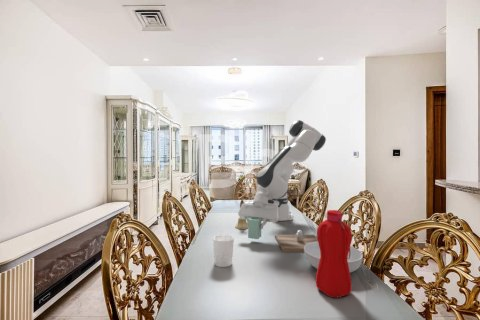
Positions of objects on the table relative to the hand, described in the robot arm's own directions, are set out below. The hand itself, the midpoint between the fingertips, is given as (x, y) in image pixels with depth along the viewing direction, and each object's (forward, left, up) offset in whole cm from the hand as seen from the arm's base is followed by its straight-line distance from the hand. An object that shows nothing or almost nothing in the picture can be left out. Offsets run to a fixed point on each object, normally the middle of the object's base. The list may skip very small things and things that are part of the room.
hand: (254, 227), depth 126 cm
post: (-7, +21, -6) cm, 22 cm away
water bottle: (+33, +39, -8) cm, 52 cm away
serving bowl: (+15, +36, -8) cm, 40 cm away
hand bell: (-23, -15, -8) cm, 28 cm away
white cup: (+28, -2, -8) cm, 30 cm away
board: (-7, +21, -7) cm, 23 cm away
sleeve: (-1, 0, -5) cm, 5 cm away
